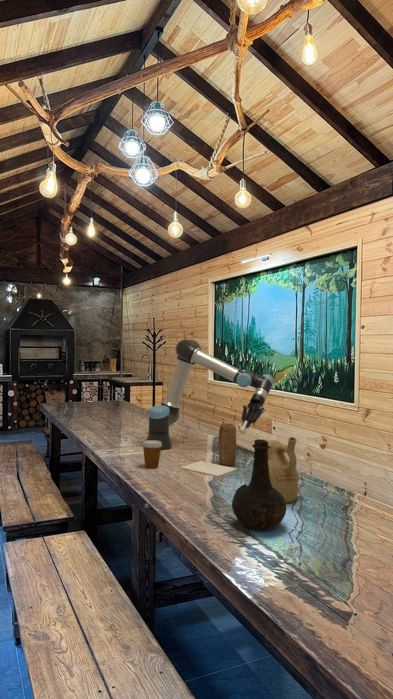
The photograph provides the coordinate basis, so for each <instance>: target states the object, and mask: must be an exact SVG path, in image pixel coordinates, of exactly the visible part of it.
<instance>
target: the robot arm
mask: <svg viewBox="0 0 393 699" xmlns="http://www.w3.org/2000/svg"><path fill="white" fill-rule="evenodd" d="M175 354H176V360H177V363H176V364H177V365H176V367H175V370H174V372H173V375H172V379H171V381H170V384H169V388H168V391H167V393H166V396H165V399H163V400H162V401H161V404H160V405H159V404H158V405H154V406H153V405H152V406H151V407H150V408H149V409H148V410H149V411H148V435H147V438H146V441H147V440H157V441H161V444H162V447H161V451H164V449H166V450H170V449H172V448H173V447H172V446H173V445H172V442H171V437H170V436H171V435H170V426H171V425H173V424H175V423H176V422H177V421H178V420H179V417H180V409H181V405H180V401H181V400H182V396H183V392H184V389H185V387H186V384H187V381H188V378H189V375H190V373H191V370H192V367H193V366H195V365H196V364H197V365H199V366H201V367H203V368H205V369H207V370H209V371H211V372H213V373H215V374H218V375H219V376H221V377H223V378H225V379H226V380H227V379H228V380H230V381H231V382H232V383H234V384H236V385H238V386H239V387H241V388H248V387H252V388H254V389H255V390H254V391H253V394H252V396H251V397H250V401H249V402H248V403H247V405H243V406H242V407H243V410H242V415H241V420H242V424H241V428H240V432H241V434H243V435H245V433H246V432H247V430H248V429H249V428H250V426H251V425H252V424H255V423H256V422H257V421H258V420H259V418H260V417H261V416H262V414H263V413H264V412H266V410H265V408H264V404H265V402H266V400H267V398H268V395H269V394H270V391H271V389H272V388H273V385H274V382H275V380H274V378H273V376H272V375H270V374H266V373H264V374H262V375H258V374H256V373H253V372H251V371H249V370H245V369H241V370H240V368H237V367H234V366H233V365H231V364H230V363H226V362H225V361H222V360H221V359H218V358H217V357H214V356H213V355H211V354H209V353H206V352H204V351H203V350H202V346H201V344H200V343H199V342H198V341H196V340H195V339H181V340H180V341H178V342H177V344H176V345H175ZM171 447H172V448H171ZM169 448H170V449H169Z"/></svg>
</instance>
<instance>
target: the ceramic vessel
mask: <svg viewBox="0 0 393 699" xmlns="http://www.w3.org/2000/svg"><path fill="white" fill-rule="evenodd" d="M297 441H298V440H297V438H295V437H294V436H293V437H292V436H291V437H290V436H289V437H288V439H287V442H288V443H287V445H286V444H283V443H281V442H280V441H278V440H276V439H275V440H274V439H273V440H272V439H271V440H269V441H268V446H270V447H271V448H270V449H268V466H269V475H270V481H271V485H272V487H273V488H274V489H276V490H277V491H279V492H280V493H281V494H282V496H283V497H284V499H285V502H286V504H287V503H293V502H295V501H296V500H297V498H298V494H299V485H298V484H299V483H298V482H299V481H300V474H299V472H298V469H297V468H296V467H297V455H296V453H295V448H296V444H297ZM286 454H287V456H288V458H289V459H288V458H287V456H286Z"/></svg>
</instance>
